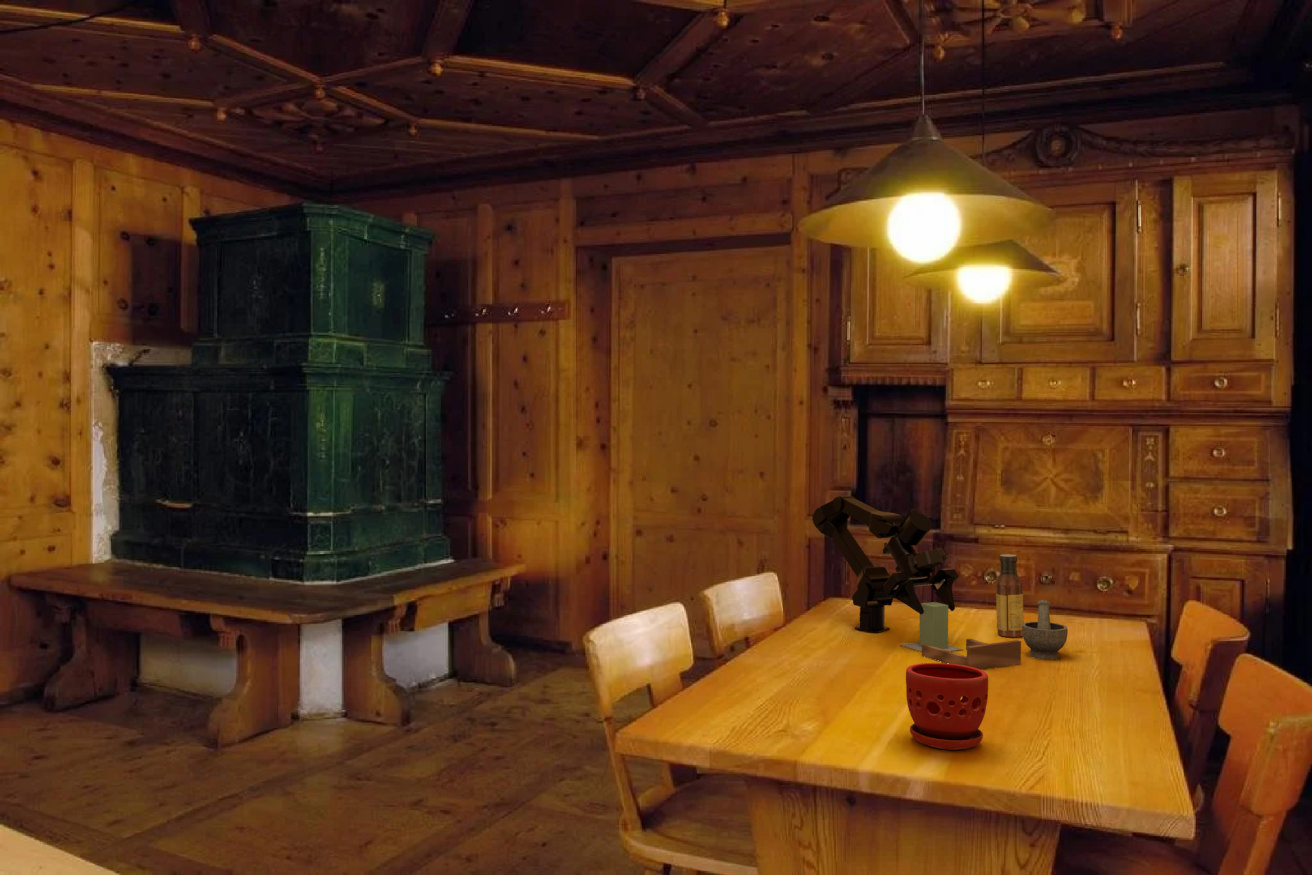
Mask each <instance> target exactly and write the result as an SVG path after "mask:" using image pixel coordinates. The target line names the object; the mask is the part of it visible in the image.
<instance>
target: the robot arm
mask: <svg viewBox="0 0 1312 875" xmlns="http://www.w3.org/2000/svg"><path fill="white" fill-rule="evenodd" d="M906 513H907V514H906V516H905V517H903V516H902V515H901V514H898V513H895V512H889V511H881V510H879V509H876V508H874V507H872V506H871V505H868V504H867V503H864V502H863V501H860V500H858V499H857V498H856V497H855V496H852V495H838V496H836V497H835V498H833V499H832V500H831V501H829V502H827V503H825V504H822V505H820V506H819V507H817V508H816V509H815V510H814V512H813V514H812V516H811V517H812V518H811V520H812V523H813V526H814V527H815V528H816V529H817V530H818V532H819V533H821V534H822V535H824V536H825V537H827V538H830V539H831V540H832V541H833V543H834V544H835V546H836V547H837V549H838V551H839V552H840V554H842V557H843V559H845V561H846V562H847V564H848V565H849V567H850V568H851V569H852V572H853V573H854V574H855V576H856V578H857V579H856V587H857V589H856V591H855V592H854V593H853V595H852V596H851V600H852V604H853V606H857V607H859V625H858V626H854V629H855V630H857V631H858V630H859V631H864V632H869V633H875V634H878V633H881V632H885V631H890V629H891V628H890V626H885V619H886V618H885V613H886V612H885V609H886V608H885V606H886V607H887V606H889V607H890V606H892V604H893V602H894V599H895V600H897V601H899V602H901V603H903V604H904V605H905V606H907V607H908V608H910V609H912V610H913V611H915V612H916V613H918V614H919V615H920V614H923V613H924V610H923V607H922V605H921V603H922V602H921V601H920V600H919V598H918V595H917V594H916V592H915V588H914V587H923V586H930V587H931V589H932V590H933V591H935V592H934V594H935V595H936V596H937V598H938V599H939V600H940V601H941V602H942V604H945V605H948V610H950V612H954V611H955V610H956V607H955V605H956V604H955V601H954V594H953V585H954V584H955V583H956V581H957V579H958V578H960V575H959V574H958V573H957V571H956V569H955V568H950V567H949V568H941V569H940V568H939V570H938V571H937V572H936V573H935V575H931V573H934V571H935V568H934V567H937V566H939V565H942V564H944V561H946V560H947V554H946V552H945V551H944V549H943V548H942V547H936V548H935V549H932V550H925V551H923V552H920V553H919V552H918V550H917V549H916V548H915V546H916V547H917V546H919V545H920V544H922V542H923V540H924V539H926V537H927V535H928V534H929V533H930V531H931V530H932V529H933V522H932V520H931V519H930V518H928V517H927V516H926V515H924V514H922V513H920V512H919V511H918V510H917V509H909V510H908V512H906ZM850 518H853V519H854V520H856V521H858V522H860V523H862V524H863V525H866V526H867V528H868V531H869V532H870V533H871V534H872V535H873V536H874V537H875V538H877V539H889V540H888V541H887V542H884V546H883V548H882V554H883V555H889V554H890V555H891V557H892V558H893V561H894V562H895V564H896V565H897V566H896V567H895V571H896V572H894V573H891V574H889V572H888V570H887V568H886V567H884V566H874V565H873V563H872V562H871V560H870V559H869V557H868V556H867V555H866V553H865V551H864V550H863V549H862V547H861V546H860V544H859V543H858V542H857V540H856V539H855V537H854V536H853V534H852V533H851V532H850V530H849V529H848V528H849V527H848V526H849V519H850Z"/></svg>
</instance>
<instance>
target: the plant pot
mask: <svg viewBox="0 0 1312 875" xmlns="http://www.w3.org/2000/svg"><path fill="white" fill-rule="evenodd" d="M905 688H906V690H905V691H906V692H905V693H906V695H905V696H906V703H907V704H906V705H907V708H908V711H909V715H910V717H911V719H912V721H913V723H912V724H911V725H910V727H909V733H910V735H911V736H912V737H913V738H914V739H915V741H916V742H919V743H921V744H923V745H925V746H928V747H932V748H936V749H939V750H941V749H942V750H949V751H952V752H953V751H956V750H957V751H958V750H965V749H966V750H967V749H970V748H973V747H976V746H978V745H979V744H980V743H981V742H982V740H983V738H984V733H983V731H982V730H980V729H979V728H980V726H981V725H982V722H983V721H984V718H985V714H986V711H987V706H988V705H987V704H988V697H989V675H988V673H987V672H986V671H984V670H980V669H977V668H974V667H969V666H964V665H957V664H947V663H943V662H925V663H915V664H912V665H909V666H908V667H906V669H905Z"/></svg>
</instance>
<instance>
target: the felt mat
mask: <svg viewBox="0 0 1312 875" xmlns="http://www.w3.org/2000/svg"><path fill="white" fill-rule="evenodd" d="M899 646H901V647H903V646H904V647H903V648H906V647H907V648H906V649H909V650H913V651H916V650H917V651H916V652H919V651H920V653H922V647H920V646H919V641H916V642H914V641H913V642H909V643H900V644H899ZM944 650H947V651H954V652H958V651H957V650H961V651H963V650H964V649H963V648H961V647H957V646H953V645H950V644H948V649H944Z"/></svg>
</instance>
